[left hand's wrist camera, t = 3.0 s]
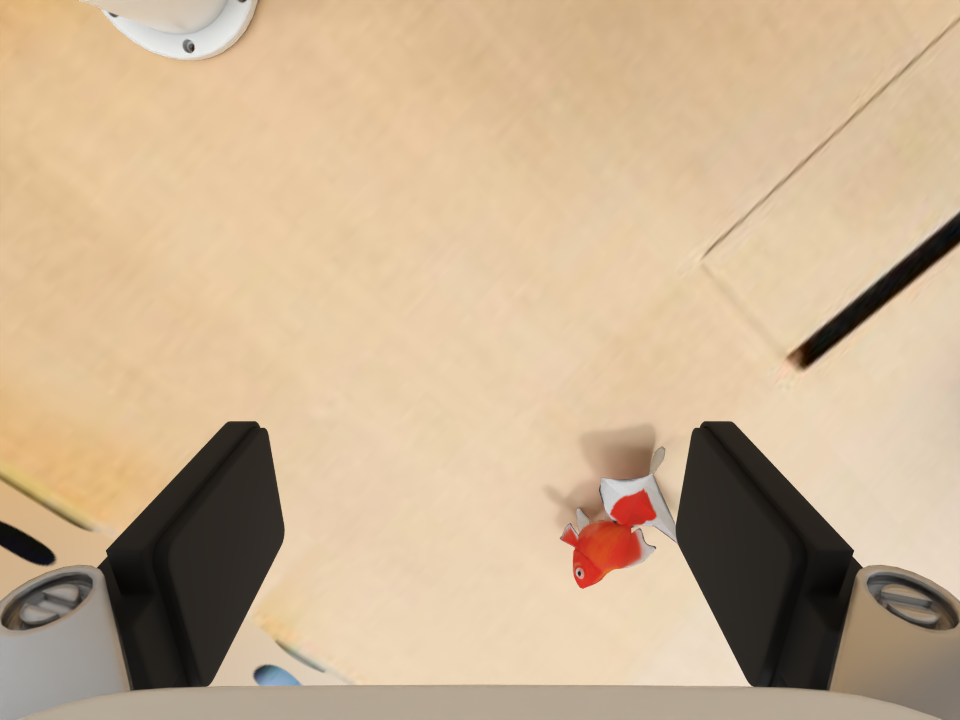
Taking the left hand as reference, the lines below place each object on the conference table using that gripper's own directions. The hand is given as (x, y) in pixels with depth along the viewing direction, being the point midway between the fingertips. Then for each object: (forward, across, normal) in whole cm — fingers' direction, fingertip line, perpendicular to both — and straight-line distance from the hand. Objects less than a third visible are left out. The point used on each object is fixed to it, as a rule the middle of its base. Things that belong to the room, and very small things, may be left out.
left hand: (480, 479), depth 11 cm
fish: (+36, +14, -26) cm, 47 cm away
